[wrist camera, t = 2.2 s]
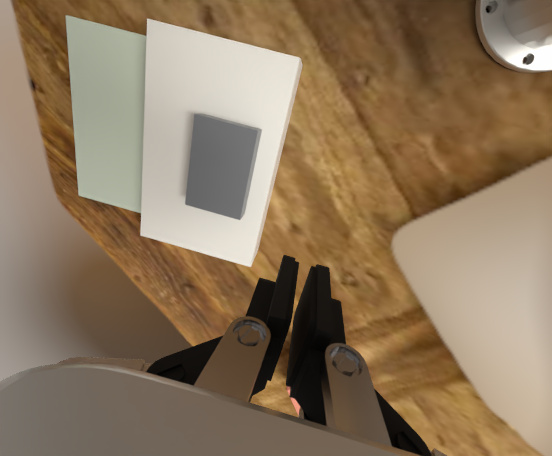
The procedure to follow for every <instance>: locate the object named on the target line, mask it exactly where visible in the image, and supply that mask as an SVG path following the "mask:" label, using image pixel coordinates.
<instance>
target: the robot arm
mask: <svg viewBox="0 0 552 456" xmlns="http://www.w3.org/2000/svg"><path fill="white" fill-rule="evenodd" d="M486 7H487V8H488V13H487V12H486ZM475 15H476V27H477V31H478V34H479V38H480V41H481V42H482V44H483V46H484V48H485V50H486V51H487V53H488V54H489V55H490V56H491V57H492V58H493V59H494V60H495V61H496V62H498V63H500V64H501V65H503V66H504V67H506V68H509V69H512V70H515V71H518V72H527V73H538V72H547V71H552V0H476V7H475ZM523 59H524V62H522V61H523ZM298 267H299V262H296V261H295V258H293V257H290V256H286V255H284V256H283V259H282V262H281V266H280V269H279V273H278V276H277V279H276V282H273V281H270V280H266V279H263V278H259V280H258V283H257V286H256V289H255V292H254V294H253V297H252V300H251V303H250V306H249V308H248V311H247V314H246V316H244V317H239V318H237V319H235V320H234V321H233V322H232V323H231V324H230V325H229V327H228V329H227V330H226V332H225V334H224V335H223V336H221V337H218V338H215V339H213V340H210V341H207V342H204V343H202V344H199V345H196V346H193V347H191V348H188V349H185V350H182V351H180V352H177V353H174V354H172V355H169V356H166V357H164V358H161V359H159V360H157V361H155V362H154V363H153V364H145V363H144V360H138V359H116V358H93V357H91V358H90V357H75V358H69V359H66V360H63V361H61V362H59V363H57V364H52V365H45V366H40V367H36V368H31V369H28V370H25V371H22V372H19V373H17V374H14V375H12V376H10V377H8V378H6V379H4V380H2V381H1V382H0V456H447V455H445V454H443V453H441V452H440V451H438V450H436V449H433V450H432V451H430V450H429V449H428V447H427V445H426V444H425V442H424V441H423V440H422V439H421V437H420V436H419V435H418V434H417V433H416V432H415V431H414V430H413V429H412V428H411V427H410V426H409V425H408V424H407V422H406V421H405V420H404V419H403V418H402V417H401V416H400V415H399V414H398V413H397V412H396V411H395V410H394V409H393V408H392V407H391V406H390V405H389V404H388V402H387V401H386V400H385V399H384V398H383V397H382V396H381V395H380V394H379V393H378V392H377V391H376V390H375V389H374V387H373V383H372V380H371V377H370V374H369V370H368V367H367V364H366V362H365V360H364V358H363V357H362V356H361V355H360V353H359V352H357V351H356V350H355V349H354V348H352V347H350V346H348V345H346V341H345V333H344V324H343V316H342V307H341V302H340V301H339V300H335V299H332V298H331V286H330V272H329V268H328V267H325V266H321V265H318V264H317V265H316V267H313V266H311V268H310V271H309V274H308V277H307V280H306V283H305V286H304V288H303V291H302V294H301V297H300V300H299V303H298V306H297V308H296V311H295V315H294V320H293V329H292V337H291V345H290V354H289V362H288V370H287V379H286V386H288V387H290V397H291V398H294V399H295V400H296V401H297V403H298V404H299V405H300V409H299V418H298V417H295V416H292V415H288V414H285V413H282V412H279V411H275V410H272V409H269V408H266V407H262V406H259V405H256V404H252V403H250V402H251V399H252V396H253V395H255V394H256V393H258V392H260V391H262V390H263V389H265V386H266V383H267V380H269V381H271V379H272V376H273V373H274V370H275V367H276V365H277V362H278V359H279V356H280V353H281V350H282V347H283V344H284V342H285V339H286V336H287V333H288V330H289V327H290V323H291V319H292V313H293V305H294V298H295V290H296V282H297V275H298Z"/></svg>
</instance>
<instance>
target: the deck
mask: <svg viewBox="0 0 552 456" xmlns="http://www.w3.org/2000/svg"><path fill="white" fill-rule="evenodd" d="M302 66H303V65H302V62H301V59H300V58H299V57H295V56H291V55H287V54H283V53H279V52H276V51H272V50H268V49H264V48H260V47H256V46H252V45H248V44H245V43H241V42H237V41H233V40H229V39H225V38H221V37H217V36H213V35H210V34H206V33H202V32H198V31H194V30H190V29H186V28H182V27H179V26H175V25H171V24H167V23H163V22H159V21H155V20H151V19H148V18H147V40H146V72H145V105H144V138H143V170H142V203H141V236H145V237H148V238H152V239H155V240H159V241H162V242H166V243H169V244H173V245H176V246H179V247H183V248H186V249H190V250H193V251H197V252H200V253H204V254H207V255H211V256H214V257H218V258H221V259H225V260H228V261H231V262H235V263H238V264H242V265H245V266H249V267H251V265H252V263H253V261H254V258H255V256H256V254H257V252H258V248H259V243H260V239H261V235H262V231H263V227H264V223H265V219H266V215H267V210H268V206H269V202H270V198H271V194H272V190H273V186H274V182H275V178H276V173H277V169H278V165H279V161H280V157H281V153H282V149H283V145H284V140H285V136H286V132H287V128H288V124H289V120H290V116H291V112H292V107H293V103H294V99H295V95H296V91H297V87H298V83H299V79H300V75H301V70H302ZM194 114H206V115H210V116H214V117H218V118H221V119H225V120H229V121H232V122H236V123H240V124H244V125H247V126H251V127H255V128H258V129H262V132H261V137H260V142H259V147H258V152H257V157H256V162H255V166H254V171H253V176H252V181H251V186H250V191H249V196H248V200H247V205H246V210H245V214H244V215H243V217H242V218H241V220H238V219H234V218H230V217H227V216H223V215H220V214H216V213H213V212H209V211H206V210H202V209H199V208H195V207H192V206H188V205H185V199H186V190H187V180H188V170H189V161H190V151H191V141H192V131H193V122H194Z"/></svg>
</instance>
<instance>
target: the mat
mask: <svg viewBox="0 0 552 456" xmlns="http://www.w3.org/2000/svg"><path fill="white" fill-rule="evenodd" d="M66 28H67V42H68V56H69V70H70V83H71V97H72V111H73V125H74V138H75V152H76V166H77V180H78V193H79V196H82V197H86V198H89V199H93V200H96V201H100V202H103V203H107V204H110V205H114V206H117V207H121V208H124V209H128V210H131V211H135V212H138V213H141V203H142V170H143V138H144V105H145V72H146V40H147V36H145V35H141V34H137V33H133V32H129V31H126V30H122V29H118V28H114V27H110V26H106V25H103V24H99V23H95V22H91V21H87V20H83V19H80V18H76V17H72V16H68V15H66Z"/></svg>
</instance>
